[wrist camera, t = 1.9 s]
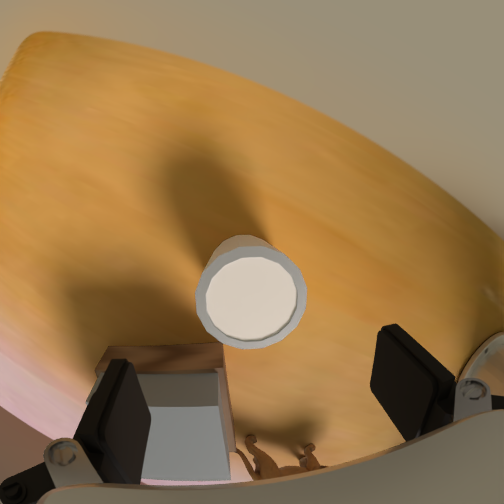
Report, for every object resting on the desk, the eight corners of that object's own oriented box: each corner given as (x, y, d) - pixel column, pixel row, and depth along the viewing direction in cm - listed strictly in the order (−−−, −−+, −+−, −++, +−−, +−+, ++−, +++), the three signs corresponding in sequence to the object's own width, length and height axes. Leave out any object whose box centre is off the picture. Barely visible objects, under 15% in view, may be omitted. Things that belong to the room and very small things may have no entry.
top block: (217, 372, 22) (218, 405, 18) (228, 449, 25) (230, 480, 21) (100, 372, 22) (85, 401, 18) (131, 447, 24) (124, 476, 20)
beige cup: (192, 237, 24) (181, 260, 17) (277, 218, 24) (298, 234, 17) (213, 314, 25) (211, 359, 19) (291, 296, 26) (314, 336, 19)
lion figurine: (345, 437, 31) (369, 489, 23) (328, 462, 32) (347, 511, 24) (230, 431, 29) (235, 495, 20) (220, 457, 30) (223, 516, 22)
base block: (222, 339, 27) (223, 367, 22) (233, 422, 29) (236, 451, 25) (109, 344, 26) (94, 370, 21) (137, 423, 28) (130, 451, 24)
